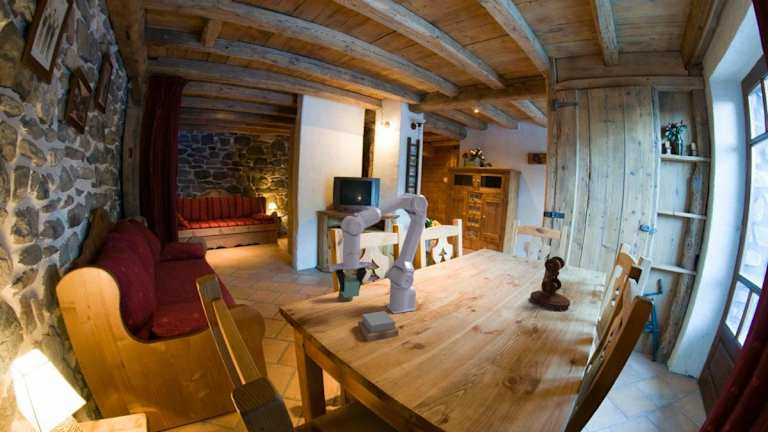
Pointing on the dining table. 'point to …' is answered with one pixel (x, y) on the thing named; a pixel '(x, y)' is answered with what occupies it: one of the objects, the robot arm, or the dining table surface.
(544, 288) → the dark brown carved statue
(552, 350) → the dining table surface
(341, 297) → the olive upright rounded piece
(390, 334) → the walnut block
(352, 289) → the teal cube
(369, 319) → the grey block
